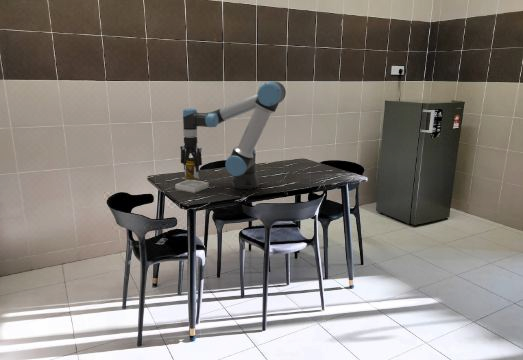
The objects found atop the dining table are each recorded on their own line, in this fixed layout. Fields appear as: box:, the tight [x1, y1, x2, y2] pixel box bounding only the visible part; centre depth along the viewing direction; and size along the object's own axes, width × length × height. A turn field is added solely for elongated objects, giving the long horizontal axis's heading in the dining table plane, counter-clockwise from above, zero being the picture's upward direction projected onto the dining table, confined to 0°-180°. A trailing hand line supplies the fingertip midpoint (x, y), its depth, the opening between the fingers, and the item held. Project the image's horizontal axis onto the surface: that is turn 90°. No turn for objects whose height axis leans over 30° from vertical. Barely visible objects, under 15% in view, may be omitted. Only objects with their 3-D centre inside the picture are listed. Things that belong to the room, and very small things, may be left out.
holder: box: [174, 179, 210, 194], centre depth 229 cm, size 14×13×3 cm
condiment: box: [181, 157, 200, 181], centre depth 227 cm, size 7×8×12 cm
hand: (191, 176), depth 227 cm, fingers closed on condiment, 6 cm apart
